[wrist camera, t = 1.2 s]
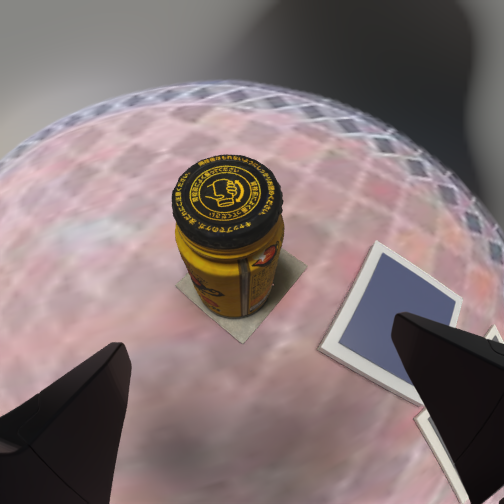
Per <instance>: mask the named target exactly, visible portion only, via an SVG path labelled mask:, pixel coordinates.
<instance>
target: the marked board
mask: <svg viewBox="0 0 504 504" xmlns="http://www.w3.org/2000/svg"><path fill="white" fill-rule="evenodd" d="M484 338H486V339H490V340H493V341H496V342H500V343H503V344H504V342H503V340H502V337H501V336H500V334H499V332H498V330H497V328H496V326H495V324H494V325H492V326H491V327H490V329H489V330H488V332H487V333H486V335H485V336H484ZM413 419H414V420H415V422H416V424H417V426H418V427H419V429H420V431H421V432H422V434H423V436H424V438H425V439H426V441H427V443H428V445H429V446H430V448H431V450H432V452H433V453H434V455H435V457H436V459H437V461H438V462H439V464H440V466H441V468H442V470H443V472H444V473H445V475H446V477H447V479H448V481H449V483H450V485H451V487H452V488H453V490H454V492H455V494H456V496H457V498H458V500H459V502H460V503H461V504H464V503H465V501H466V500H467V499H468V498H469V497H468V495H467V493H466V490H465V488H464V485H463V483H462V481H461V479H460V476H459V474H458V472H457V470H456V468H455V465H454V464H455V463H453V461H452V459H451V456H450V454H449V452H448V450H447V448H446V446H445V444H444V442H443V440H442V438H441V436H440V434H439V432H438V430H437V428H436V426H435V424H434V422H433V420H432V418H431V417H430V415H429V413H428V411H427V409H426V407H425V408H424V409H423V410H422V411H421V412H420V413H419V414H418V415H416V416H415V417H414V418H413Z"/></svg>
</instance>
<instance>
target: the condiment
mask: <svg viewBox="0 0 504 504" xmlns="http://www.w3.org/2000/svg"><path fill="white" fill-rule="evenodd" d="M282 197H283V195H282V192H281V186H280V185H279V183H278V182H277V180H276V178H275V176H274V174H273V173H272V171H271V170H269V169H268V168H267V167H266V166H264V165H263V164H261V163H259V162H258V161H257V160H254V159H251V158H248V157H246V156H242V155H219V156H213V157H210V158H207V159H204V160H201V161H199V162H197V163H196V164H194V165H192V166H191V167H190V168H188V169H187V171H185V172H184V173H183V174H182V175H181V176H180V177H179V180H178V182H177V184H176V186H175V188H174V190H173V192H172V209H173V216H174V218H175V220H176V228H175V239H176V243H177V246H178V249H179V252H180V254H181V257H182V260H183V261H184V263H185V265H186V268H187V270H188V272H189V273H187V274H186V276H185V277H184V278H183V279H182V280H181V281H180V282H179V283H177V284H176V285H175V286H176V287H177V288H178V289H179V290H180V291H182V292H183V293H184V294H185V295H186V296H187V297H188V298H189V299H190V300H191V301H192V302H194V303H195V304H196V305H197V306H198V307H199V308H200V309H201V310H203V311H204V312H205V313H206V314H207V315H208V316H210V317H211V318H212V319H213V320H214V321H215V322H216V323H218V324H219V325H220V326H221V327H222V328H224V329H225V330H226V331H227V332H229V333H230V334H231V335H232V336H233V337H235V338H236V339H237V340H238V341H239V342H241V343H242V344H243V343H244V342H245V341H246V340H247V339H248V338H249V336H250V335H251V334H252V333H253V332H254V331H255V330H256V328H257V327H258V326H259V325H260V324H261V322H262V321H263V320H264V319H265V318H266V317H267V316H268V314H269V313H270V312H271V311H272V310H273V308H274V307H275V306H276V305H277V304H278V302H279V301H280V300H281V299H282V297H283V296H284V295H285V294H286V293H287V291H288V290H289V289H290V288H291V286H292V285H293V284H294V283H295V282H296V280H297V279H298V278H299V276H300V275H301V274H302V273H303V272H304V270H305V269H306V268H307V267H308V266H307V265H306V264H304V263H303V262H301V261H300V260H298V259H296V258H295V257H294V256H292V255H291V254H289V253H288V252H287V251H285V250H284V249H282V248H281V247H282V242H283V237H284V222H283V218H282V215H281V213H282V211H283V210H282V205H283V199H282ZM272 284H274V286H273V285H272Z"/></svg>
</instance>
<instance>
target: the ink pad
mask: <svg viewBox="0 0 504 504" xmlns="http://www.w3.org/2000/svg"><path fill="white" fill-rule="evenodd" d="M462 301H463V298H461V297H460V296H458V295H457V294H456V293H454V292H453V291H452V290H450V289H449V288H447V287H446V286H445V285H443V284H442V283H440V282H439V281H437V280H436V279H435V278H433V277H432V276H430V275H429V274H427V273H426V272H424V271H423V270H421V269H420V268H418V267H417V266H415V265H414V264H412V263H411V262H409V261H408V260H406V259H405V258H403V257H402V256H400V255H399V254H397V253H396V252H394V251H392V250H391V249H389V248H388V247H386V246H385V245H383V244H381V243H380V242H378V241H377V240H376V241H375V242H374V243H373V245H372V246H371V248H370V250H369V252H368V254H367V256H366V259H365V261H364V263H363V265H362V267H361V269H360V271H359V273H358V275H357V277H356V279H355V281H354V283H353V285H352V287H351V289H350V291H349V293H348V295H347V297H346V298H345V300H344V302H343V304H342V306H341V308H340V310H339V312H338V313H337V315H336V317H335V319H334V321H333V322H332V324H331V326H330V328H329V330H328V331H327V333H326V335H325V336H324V338H323V340H322V342H321V343H320V345H319V347H318V348H317V350H319V351H320V352H322V353H324V354H325V355H327V356H329V357H331V358H332V359H334V360H336V361H337V362H339V363H341V364H343V365H344V366H346V367H348V368H349V369H351V370H353V371H355V372H356V373H358V374H360V375H362V376H363V377H365V378H367V379H369V380H371V381H372V382H374V383H376V384H378V385H380V386H381V387H383V388H385V389H387V390H389V391H391V392H392V393H394V394H396V395H398V396H400V397H402V398H404V399H405V400H407V401H409V402H411V403H413V404H415V405H417V406H419V407H425V405H424V403H423V402H422V400H421V398H420V396H419V394H418V393H417V391H416V389H415V387H414V385H413V384H412V382H411V380H410V378H409V376H408V375H407V373H406V371H405V369H404V366H403V364H402V362H401V360H400V357H399V355H398V353H397V351H396V348H395V346H394V344H393V342H392V339H391V331H392V326H393V321H394V317H395V315H396V314H397V313H401V312H409V313H412V314H415V315H418V316H421V317H424V318H427V319H430V320H433V321H436V322H439V323H442V324H445V325H448V326H451V327H454V328H456V324H457V320H458V317H459V313H460V309H461V305H462Z"/></svg>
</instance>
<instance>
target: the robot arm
mask: <svg viewBox="0 0 504 504" xmlns="http://www.w3.org/2000/svg"><path fill="white" fill-rule="evenodd" d="M391 339H392V342H393V344H394V346H395V348H396V351H397V353H398V355H399V357H400V360H401V362H402V364H403V366H404V369H405V371H406V373H407V375H408V376H409V378H410V380H411V382H412V384H413V385H414V387H415V389H416V391H417V393H418V394H419V396H420V398H421V400H422V402H423V403H424V405H425V407H426V409H427V411H428V413H429V415H430V417H431V418H432V420H433V422H434V424H435V426H436V428H437V430H438V432H439V434H440V436H441V438H442V440H443V442H444V444H445V446H446V448H447V450H448V452H449V454H450V456H451V459H452V461H453V463H455V464H454V465H455V468H456V470H457V472H458V474H459V476H460V479H461V481H462V483H463V485H464V488H465V490H466V493H467V495H468V497H469V500H470V502H471V504H482V503H483V502H485V501H486V500H487V499H489V498H490V497H491V496H492V495H494V494H495V493H496V492H497V491H499V490H500V489H501V488H502V487H503V486H504V344H503V343H500V342H496V341H493V340H490V339H486V338H484V337H481V336H478V335H475V334H472V333H469V332H466V331H463V330H460V329H457V328H454V327H451V326H448V325H445V324H442V323H439V322H436V321H433V320H430V319H427V318H424V317H421V316H418V315H415V314H412V313H409V312H401V313H397V314H396V315H395V317H394V321H393V326H392V331H391ZM131 370H132V366H131V361H130V358H129V355H128V353H127V350H126V347H125V345H124V344H123V343H122V342H112V343H110V344H108V345H107V346H106V347H104V348H103V349H101V350H100V351H98V352H97V353H95V354H94V355H93V356H91V357H90V358H88V359H87V360H85V361H84V362H82V363H81V364H80V365H78V366H77V367H75V368H74V369H72V370H71V371H69V372H68V373H67V374H65V375H64V376H62V377H61V378H59V379H58V380H56V381H55V382H54V383H52V384H51V385H49V386H48V387H46V388H45V389H44V390H42V391H41V392H40V393H38V394H36V395H35V396H33V397H32V398H31V399H29V400H28V401H26V402H25V403H23V404H22V405H20V406H18V407H17V408H15V409H13V410H12V411H10V412H8V413H7V414H5V415H3V416H1V417H0V504H109V502H110V495H111V488H112V481H113V475H114V469H115V463H116V458H117V453H118V447H119V442H120V437H121V432H122V428H123V423H124V419H125V414H126V409H127V403H128V394H129V385H130V377H131ZM499 504H504V497H503V498H502V499H501V500H500V501H499Z"/></svg>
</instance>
